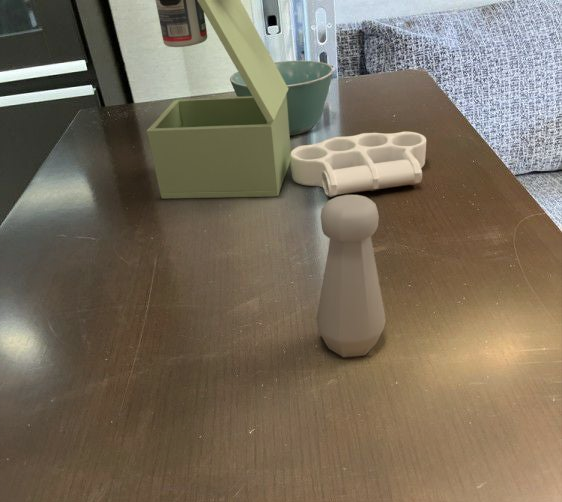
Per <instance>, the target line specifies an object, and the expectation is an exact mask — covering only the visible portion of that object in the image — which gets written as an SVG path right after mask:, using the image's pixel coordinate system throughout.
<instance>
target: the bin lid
mask: <svg viewBox="0 0 562 502" xmlns="http://www.w3.org/2000/svg"><path fill="white" fill-rule="evenodd" d="M197 1H198V3H199V4H200V6H201V8H202V10H203V11H204V16H206V19H207V20H208V22H209V24H210V25H211V27H212V29H213V30H214V32H215V34H216V35H217V38H218V39H219V41H220V42H221V44H222V46H223V47H224V50H225V51H226V53H227V54H228V56H229V59H230V60H231V61H232V63H233V65H234V67H235V69H236V70H237V72H239V74H240V75H241V77H242V79H243V81H244V82H245V84H246V86H247V87H248V89H249V91H250V93H251V94H252V96H253V98H254V100H255V101H256V103H257V105H258V107H259V108H260V110H261V112H262V113H263V115H264V117H265V119H266V120H267V122H268V123H270V122H272V121H274V119H275V117H276V114H277V112H278V110H279V108H280V106H281V104H282V102H283V100H284V98H285V96H286V94H287V91H288V87H287V85H286V83H285V82H284V80H283V78H282V76H281V74H280V72H279V71H278V69H277V67H276V65H275V63H274V62H275V61H274V60H273V58H272V55H271V54H270V52H269V50H268V49H267V46H266V45H265V43H264V40H263V39H262V37H261V36H260V34H259V32H258V29H257V28H256V27H255V24H254V23H253V20H252V19H251V17H250V16H249V13H248V12H247V10H246V8H245V6H244V4H243V2H242V1H241V0H197Z"/></svg>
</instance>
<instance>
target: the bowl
mask: <svg viewBox="0 0 562 502" xmlns="http://www.w3.org/2000/svg"><path fill="white" fill-rule="evenodd" d="M274 63H275V65H276V67H277V69H278V71H279V72H280V74H281V76H282V78H283V80H284V82H285V83H286V85H287V87H288V91H287V94H286V95H287V109H288V122H289V135H290V136H296V135H299V134H300V135H301V134H304V133H307V132H308V131H310V130H311V129H313V127H315V125H316V124H317V123H318V122H319V121H320V119H321V117H322V115H323V111H324V108H325V104H326V101H327V98H328V94H329V90H330V86H331V82H332V80H333V79H332V78H333V74H334V68H333V66H332V65H330V64H329V63H326V62H322V61H316V60H282V61H281V60H280V61H274ZM229 81H230V83H231V86H232V88H233V90H234V93H235V96H236V97H243V96H252V94H251V93H250V91H249V89H248V87H247V86H246V84H245V82H244V81H243V79H242V77H241V75H240V74H239V72H238V71H236V72H234V73H233V74H232V75H231V76H230V78H229Z"/></svg>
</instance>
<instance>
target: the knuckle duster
mask: <svg viewBox="0 0 562 502" xmlns="http://www.w3.org/2000/svg"><path fill="white" fill-rule="evenodd" d="M426 152H427V138H426V136H425V135H423V134H422V133H418V132H415V131H400V132H393V133H384V132H383V133H381V132H362V133H360V134H359V133H358V134H356V135H350V136H349V135H348V136H335V137H332V138H331V137H330V138H327V139H325V140H323V141H320V142H317V143H313V144H306V145H305V144H304V145H303V144H302V145H299V146H297V147H295V148H293V149H292V150H291V154H290V159H291V161H290V171H291V172H290V173H291V179H292V181H293V182H294V183H295V184H298V185H301V186H305V187H307V186H309V187H320V188H322V189H323V191H324V193H325V195H326V196H327V197H330V198H334V197H336V196H337V195H347V194H353V193H361V192H367V191H368V192H369V191H370V192H374V191H377V190H381V189H389V188H390V189H391V188H396V187H402V186H403V187H404V186H417V185H418V184H421V183H422V182H423V170H422V169H423V168H424V166H425V164H426V154H427V153H426Z"/></svg>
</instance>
